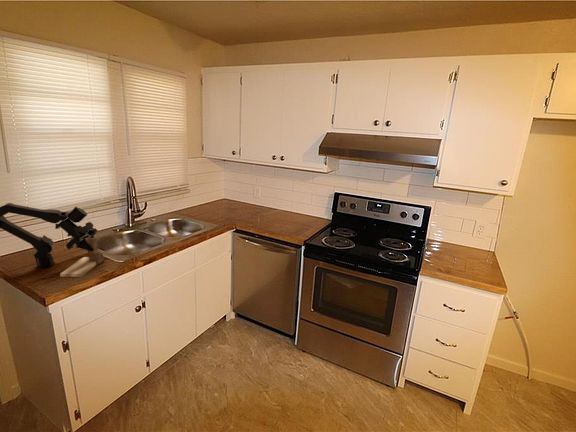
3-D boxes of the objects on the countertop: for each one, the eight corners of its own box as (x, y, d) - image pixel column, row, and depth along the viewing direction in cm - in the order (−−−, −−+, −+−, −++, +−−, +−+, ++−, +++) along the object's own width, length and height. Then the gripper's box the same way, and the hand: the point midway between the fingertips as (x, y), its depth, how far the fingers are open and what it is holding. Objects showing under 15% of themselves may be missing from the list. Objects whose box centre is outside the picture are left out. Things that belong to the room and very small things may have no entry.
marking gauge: (87, 264, 166) (83, 240, 163) (92, 260, 171) (89, 237, 167) (99, 264, 167) (95, 240, 163) (103, 260, 171) (100, 237, 168)
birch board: (60, 276, 153) (59, 273, 153) (83, 259, 172) (83, 256, 172) (81, 276, 154) (81, 273, 153) (102, 259, 173) (102, 257, 173)
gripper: (68, 224, 153) (93, 246, 156) (92, 214, 171) (114, 234, 174) (55, 238, 156) (80, 260, 158) (80, 227, 174) (102, 246, 176)
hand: (95, 249), depth 167 cm, fingers closed on marking gauge, 4 cm apart
